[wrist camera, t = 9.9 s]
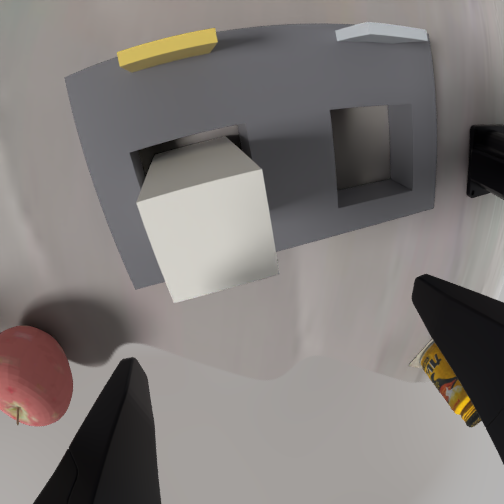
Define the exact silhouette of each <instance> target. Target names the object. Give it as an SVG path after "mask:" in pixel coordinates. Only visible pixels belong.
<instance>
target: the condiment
mask: <svg viewBox="0 0 504 504" xmlns="http://www.w3.org/2000/svg"><path fill="white" fill-rule="evenodd" d="M409 366H411V367H417V368H421V369H423V370H424V371H425V372H426V374H427V375H428V377H429V378H430V380H431V381H432V382H433V383H434V385H435V386H436V388H437V389H438V390H439V392H440V393H441V394H442V396H443V397H444V398H445V400H446V401H447V403H448V404H449V405H450V407H451V409H452V410H453V411H454V412H455V413H456V414H459V415H461V417H462V419H463V420H464V421H465V422H466V425H467V426H469V427H473V426H475V425H476V424H477V423H479V422H480V421H482V420H481V418H480V416H479V415H478V413H477V411H476V409H475V407H474V406H473V404H472V402H471V400H470V399H469V397H468V395H467V393H466V392H465V390H464V388H463V387H462V385H461V383H460V382H459V380H458V378H457V377H456V375H455V373H454V372H453V370H452V369H451V367H450V365H449V364H448V362H447V361H446V359H445V357H444V356H443V354H442V353H441V351H440V350H439V348H438V347H437V345H436V344H435V342H434V340H433V339H432V340H431V341H430V342H429V343H428V344H427V345H426V346H425V348H424V349H423V350H422V351H421V352H420V353H419V354H418V355H417V356H416V358H415V359H413V361H412V362H411V363H410V364H409Z"/></svg>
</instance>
